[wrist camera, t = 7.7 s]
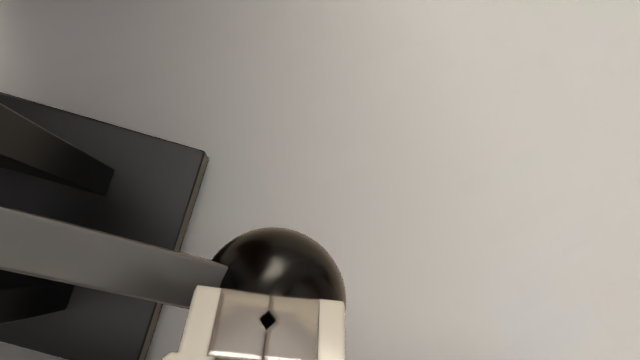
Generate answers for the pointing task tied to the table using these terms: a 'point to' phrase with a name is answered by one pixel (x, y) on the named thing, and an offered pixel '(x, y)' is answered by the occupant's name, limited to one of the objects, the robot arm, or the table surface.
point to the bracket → (89, 222)
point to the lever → (165, 262)
